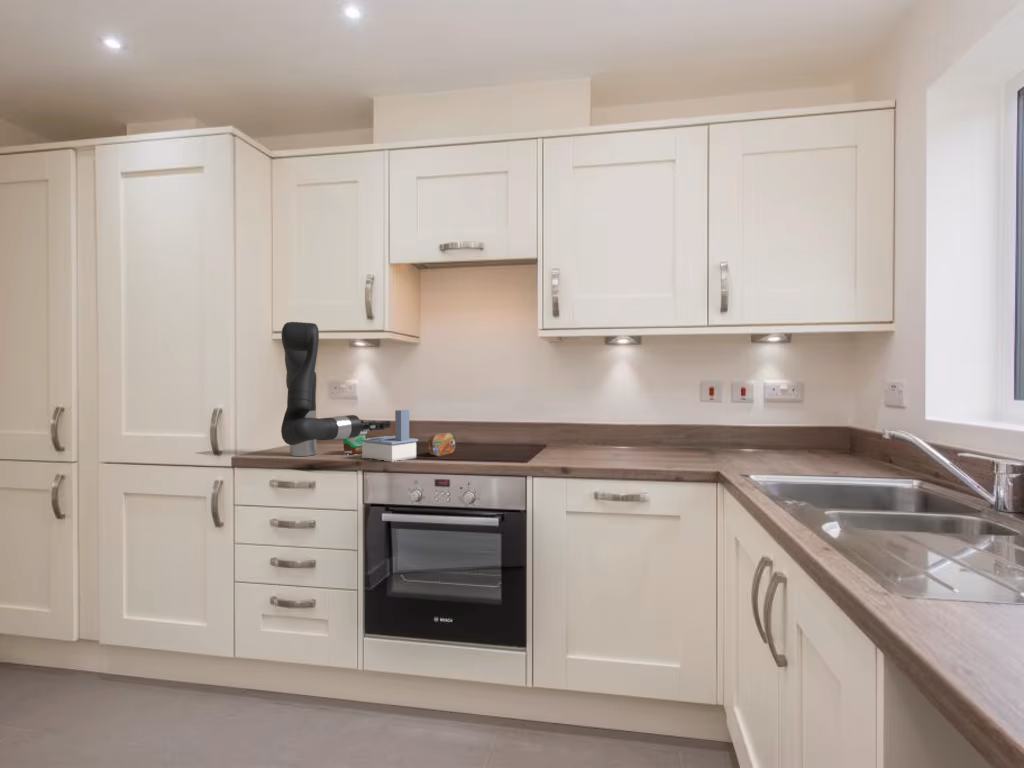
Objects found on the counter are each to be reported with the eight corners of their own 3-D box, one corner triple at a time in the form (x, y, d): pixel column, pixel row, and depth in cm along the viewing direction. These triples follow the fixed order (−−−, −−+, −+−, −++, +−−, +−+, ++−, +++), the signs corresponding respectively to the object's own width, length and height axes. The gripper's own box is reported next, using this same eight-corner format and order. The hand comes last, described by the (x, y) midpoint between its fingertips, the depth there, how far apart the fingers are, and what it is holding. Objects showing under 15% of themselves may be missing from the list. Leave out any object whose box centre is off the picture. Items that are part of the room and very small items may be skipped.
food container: (355, 456, 212) (355, 430, 212) (341, 455, 214) (341, 429, 214) (373, 452, 223) (373, 427, 223) (360, 451, 225) (360, 426, 225)
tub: (362, 458, 207) (362, 442, 206) (386, 454, 216) (386, 439, 216) (392, 462, 197) (391, 445, 197) (416, 457, 207) (416, 441, 207)
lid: (360, 441, 206) (360, 409, 206) (386, 438, 217) (386, 407, 217) (391, 444, 197) (391, 411, 196) (418, 440, 207) (417, 409, 207)
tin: (432, 457, 209) (432, 435, 208) (426, 456, 210) (426, 434, 210) (457, 452, 221) (456, 431, 221) (450, 452, 223) (450, 431, 223)
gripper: (357, 416, 177) (395, 413, 190) (329, 414, 185) (367, 412, 199) (357, 440, 177) (395, 435, 190) (329, 437, 185) (368, 432, 199)
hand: (381, 423), depth 194 cm, fingers open, 8 cm apart
